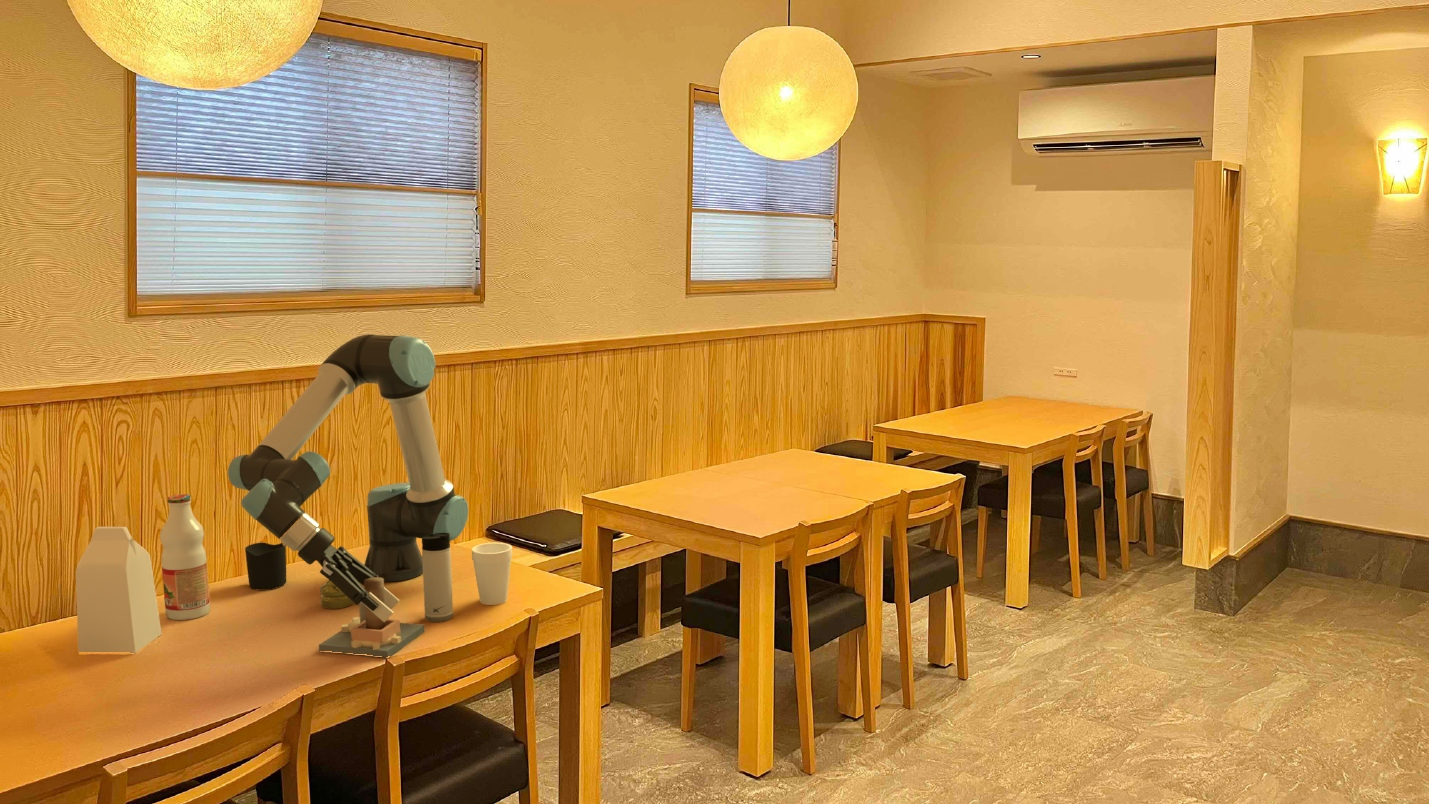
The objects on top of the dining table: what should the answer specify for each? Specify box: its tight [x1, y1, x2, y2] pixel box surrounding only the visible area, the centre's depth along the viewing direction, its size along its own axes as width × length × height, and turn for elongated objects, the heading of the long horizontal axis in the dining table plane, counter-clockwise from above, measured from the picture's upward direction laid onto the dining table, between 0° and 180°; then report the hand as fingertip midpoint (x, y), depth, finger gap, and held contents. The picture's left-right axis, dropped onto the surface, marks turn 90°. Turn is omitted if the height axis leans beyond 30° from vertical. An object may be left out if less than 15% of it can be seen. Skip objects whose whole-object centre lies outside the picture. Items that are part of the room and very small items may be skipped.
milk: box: [75, 526, 163, 653], centre depth 242 cm, size 12×12×26 cm
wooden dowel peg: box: [363, 577, 385, 630], centre depth 241 cm, size 4×4×12 cm
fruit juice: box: [159, 493, 211, 621], centre depth 261 cm, size 9×9×28 cm
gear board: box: [318, 602, 426, 657], centre depth 245 cm, size 16×16×9 cm
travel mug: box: [421, 533, 454, 623], centre depth 259 cm, size 6×7×20 cm
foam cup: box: [471, 542, 513, 606], centre depth 271 cm, size 10×9×13 cm
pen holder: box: [244, 542, 287, 590], centre depth 283 cm, size 9×9×10 cm
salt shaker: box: [319, 579, 354, 610], centre depth 269 cm, size 7×7×10 cm
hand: (391, 611), depth 241 cm, fingers open, 7 cm apart
